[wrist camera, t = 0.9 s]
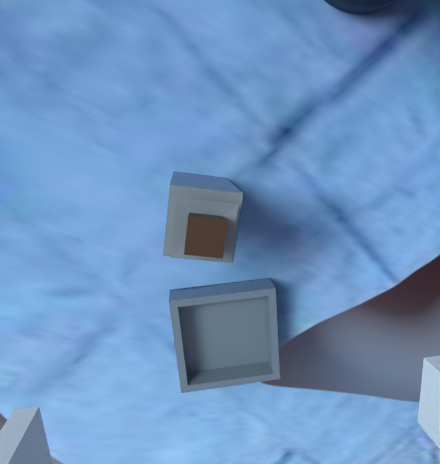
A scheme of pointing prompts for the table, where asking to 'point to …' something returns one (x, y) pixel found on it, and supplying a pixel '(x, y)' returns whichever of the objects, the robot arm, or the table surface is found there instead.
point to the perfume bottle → (202, 218)
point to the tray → (225, 334)
